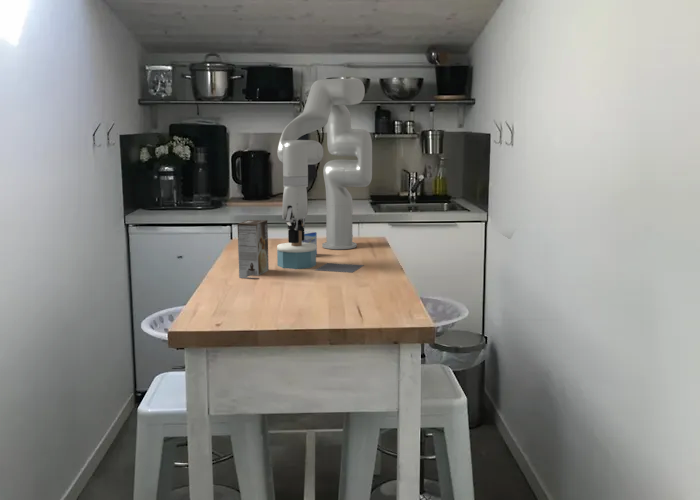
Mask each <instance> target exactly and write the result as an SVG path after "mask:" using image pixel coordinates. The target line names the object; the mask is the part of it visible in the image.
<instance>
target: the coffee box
mask: <svg viewBox="0 0 700 500" xmlns="http://www.w3.org/2000/svg"><path fill="white" fill-rule="evenodd" d="M236 227H237V248H238V249H237V251H238V252H237V253H238V278H239V279H254V280H255V279H257V280H258V279H259V280H260V277H259V276H261V275H263V274H265V273H266V272H268V271H269V270H270V268H269V267H270V266H269V232H268V230H269V229H268V219H267V220H266V219H265V220H263V219H249V220H248V219H247V220H244V221H241V222H240V223H237V224H236ZM251 276H255V277H251ZM256 276H258V277H256Z"/></svg>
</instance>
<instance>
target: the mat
mask: <svg viewBox="0 0 700 500" xmlns="http://www.w3.org/2000/svg"><path fill="white" fill-rule="evenodd" d="M364 266H365V265H364V264H363V265H362V264H353V263H351V264H349V263H332V262H327V263H325V264H323V265H321V266H320V267H317V268H316V269H315V271H321V272H336V273H351V274H352V273H355V272H356V271H357V270H359V269H361V268H362V267H364Z"/></svg>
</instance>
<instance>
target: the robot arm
mask: <svg viewBox="0 0 700 500" xmlns="http://www.w3.org/2000/svg"><path fill="white" fill-rule="evenodd" d="M365 92H366V90H365V85H364V83H363V81H362V80H361V79H359V78H356V77H354V78H323V79H321V78H320V79H318V80H316V81H314V82H313V83H312V84H311V87H310V90H309V92H308V96H307V99H306V101H305V104H304V107H303V111H302V113H301V114H299V115H297V116H296V117H295V118H293V120H291V121H290V122H289V123H288V124H287V125H285V127H284V129H283V130H282V132H281V135H280V138H279V142H278V143H277V144H278V145H277V151H276V153H277V158H278V160H279V161H280V162H281V163H282V175H283V176H282V178H283V180H282V181H283V182H282V183H283V192H282V194H283V195H282V209H281V210H282V212H281V213H282V214H281V215H282V220H284V221H285V223H286V225H287V231H288V232H287V233H288V234H287V235H288V237H287V238H288V241H287V243H299V231H302V241H304V232H305V226H306V225H305V221H306V218H307V216H308V212H309V211H308V209H309V208H308V190H307V189H308V187H309V167H308V166H309V165H316V164H318V163H320V162H321V161H322V160H323V157H324V147H323V146H322V144H321V143H320V142H319V141H317V140H313V139H312V140H311V139H299V138H301V137H302V136H304V135H306V134H310V133H313V132H315V131H318V130H319V129H322V128H324V127H325V126H326V141H327V142H326V143H327V144H326V145H327V151H328V153H329V154H330V155H333V156H339V157H356V158H357V159H333V160H332V159H331V160H329V161H327V162H326V163H325V164H324V166H323V171H322V172H323V180H324V185H325V202H326V203H325V205H326V206H325V211H326V213H325V218H326V220H325V221H326V225H325V227H326V229H325V231H326V241H325V242H323V243H322V245H321V246H322V248H324V249H327V250H350V249H355V248H357V245H358V244H357V243H356V242H353V237H354V235H353V197H352V194H351V193H350V192H349V190H348V187H351V188H352V187H354V188H364V187H369V185H370V184H371V182H372V180H373V179H372V177H373V141H372V137H371V133H370V132H369V131H368V130H366V129H364V128H352V123H351V122H352V117H351V113H350V111H349V109H348V107H347V106H353V105H358V104H361V102H362V101H363V100H364V97H365V94H366V93H365Z"/></svg>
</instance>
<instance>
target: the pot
mask: <svg viewBox="0 0 700 500" xmlns="http://www.w3.org/2000/svg"><path fill="white" fill-rule="evenodd" d="M276 250H277V249H276ZM276 255H277V258H276V260H277V261H276V262H277V266H278V267H280V268H282V269H290V270H291V269H292V270H293V269H295V270H298V269H299V270H300V269H311V268H313V267H315V266H317V255H316V250H314V251H309V252H282V251H278V250H277V253H276Z"/></svg>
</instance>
